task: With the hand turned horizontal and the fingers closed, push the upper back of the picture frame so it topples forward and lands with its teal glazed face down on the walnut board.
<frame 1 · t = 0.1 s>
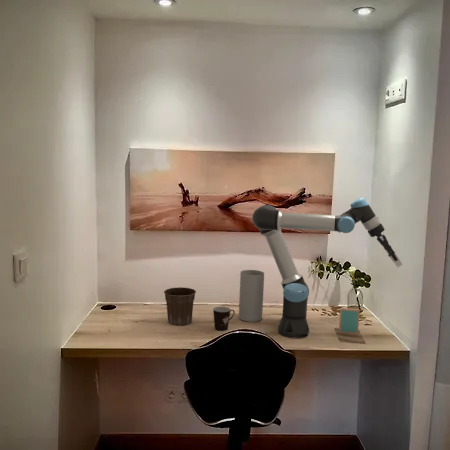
hand: (397, 263, 221), 36 cm above the table, tool tilted 35°, fingers open, 13 cm apart
plant pot: (179, 322, 233), on the table
picture frame: (348, 332, 222), point 1 cm above the table, touching board
coffee mug: (224, 329, 225), on the table
cylinder vase: (250, 318, 242), on the table
board: (349, 337, 219), on the table
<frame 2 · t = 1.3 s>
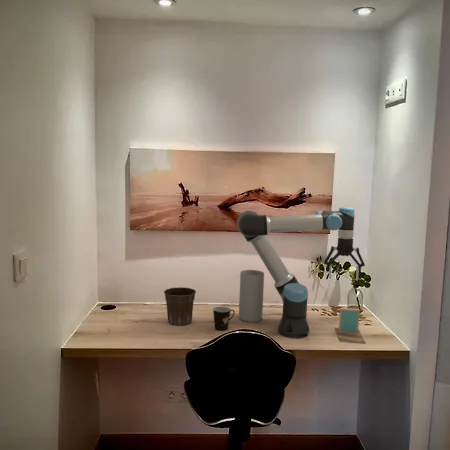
hand: (343, 278, 233), 25 cm above the table, tool pointing down, fingers open, 13 cm apart
nothing on the table moved.
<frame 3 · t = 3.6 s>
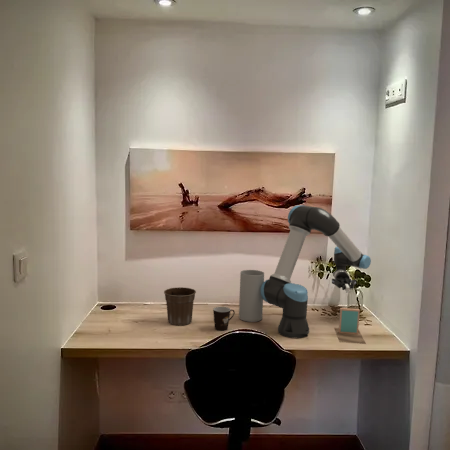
hand: (348, 290, 227), 21 cm above the table, tool horizontal, fingers closed
nothing on the table moved.
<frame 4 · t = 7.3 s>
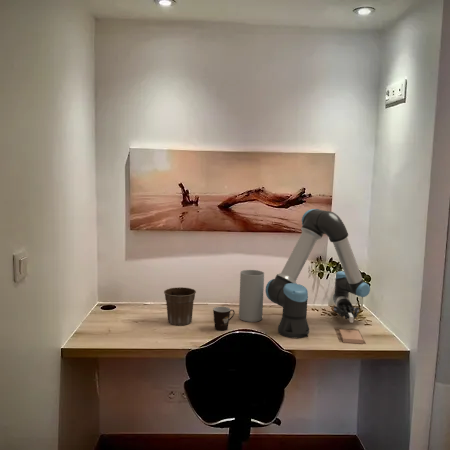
hand: (351, 319, 218), 9 cm above the table, tool horizontal, fingers closed
picture frame: (348, 331, 221), point 2 cm above the table, tilted 90°, touching board
everything else where it was.
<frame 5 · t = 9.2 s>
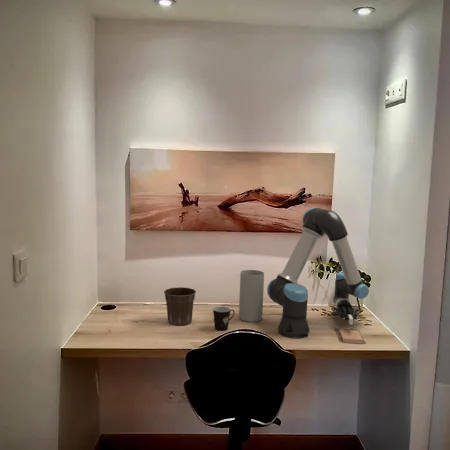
hand: (351, 321, 215), 9 cm above the table, tool horizontal, fingers closed
nothing on the table moved.
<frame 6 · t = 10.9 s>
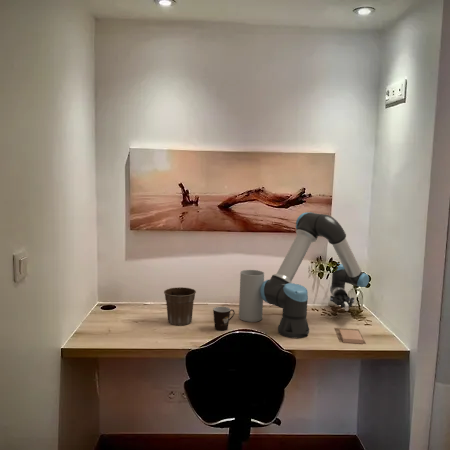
hand: (347, 308, 229), 11 cm above the table, tool horizontal, fingers closed
nothing on the table moved.
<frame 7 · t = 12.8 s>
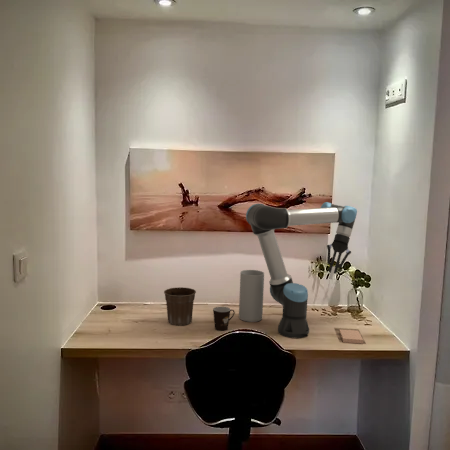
hand: (330, 278, 234), 24 cm above the table, tool tilted 20°, fingers closed
nothing on the table moved.
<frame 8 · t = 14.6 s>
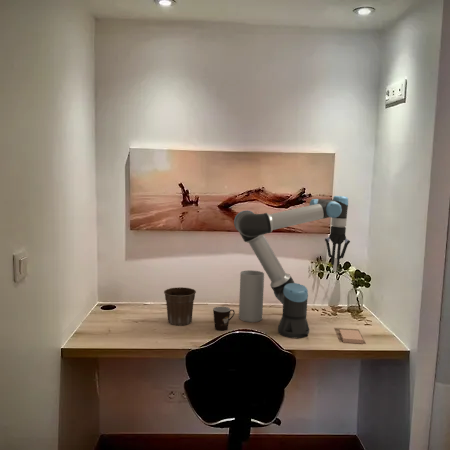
hand: (334, 270, 236), 28 cm above the table, tool pointing down, fingers closed
cylinder vase: (250, 319, 242), on the table, touching arm
everything else where it was.
at the end: picture frame tilted 90°; picture frame point 2.1 cm above the table; picture frame 2.3 cm from the board (horizontally) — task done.
